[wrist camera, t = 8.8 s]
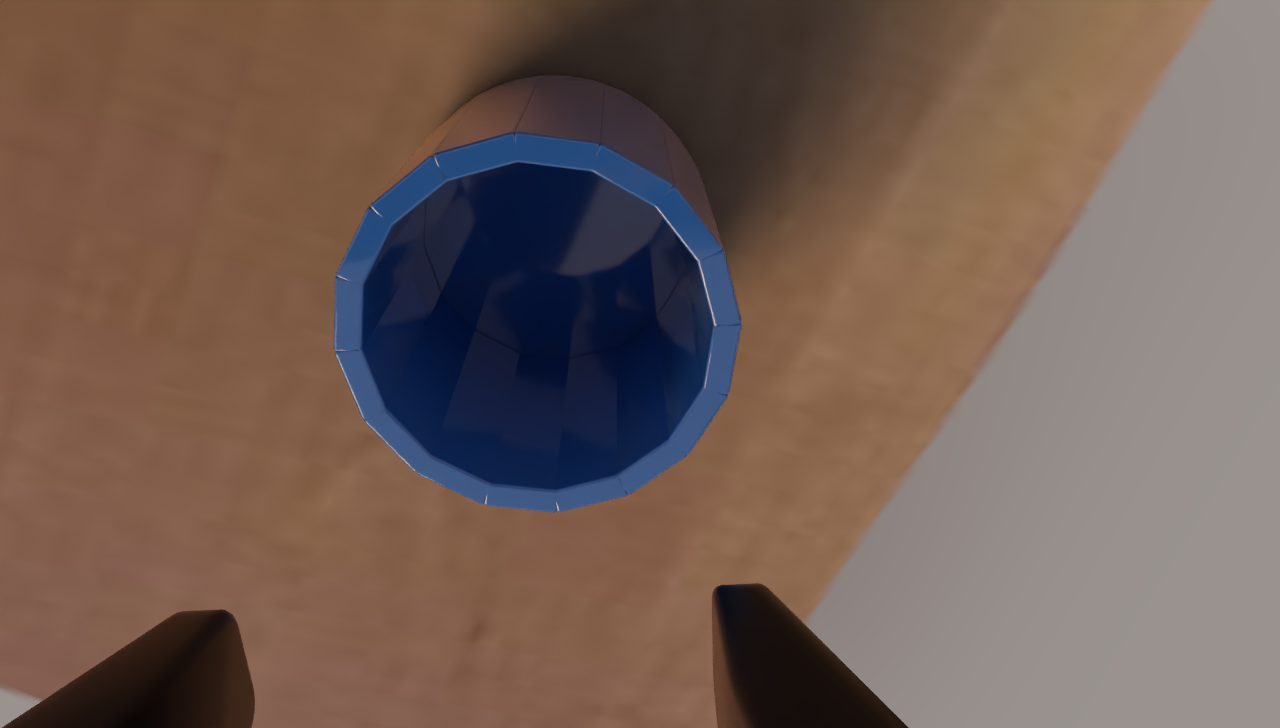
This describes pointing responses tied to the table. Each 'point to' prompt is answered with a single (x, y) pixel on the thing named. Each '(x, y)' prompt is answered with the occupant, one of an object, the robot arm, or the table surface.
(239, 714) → the robot arm
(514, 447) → the cup
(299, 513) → the table surface
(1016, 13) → the table surface
